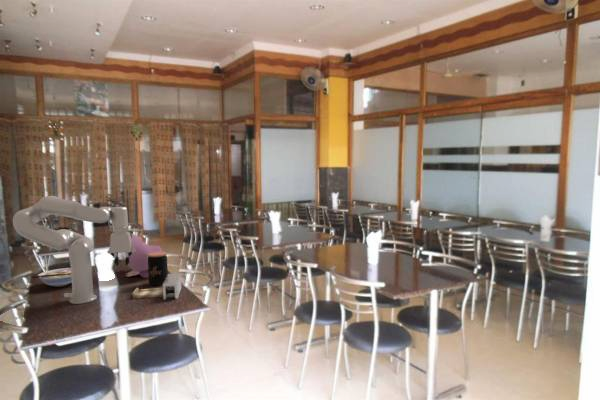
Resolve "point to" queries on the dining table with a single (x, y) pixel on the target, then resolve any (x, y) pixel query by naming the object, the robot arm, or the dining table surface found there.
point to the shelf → (172, 285)
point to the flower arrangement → (140, 256)
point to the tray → (147, 293)
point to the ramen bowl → (56, 277)
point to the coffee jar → (157, 268)
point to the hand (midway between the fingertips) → (122, 264)
